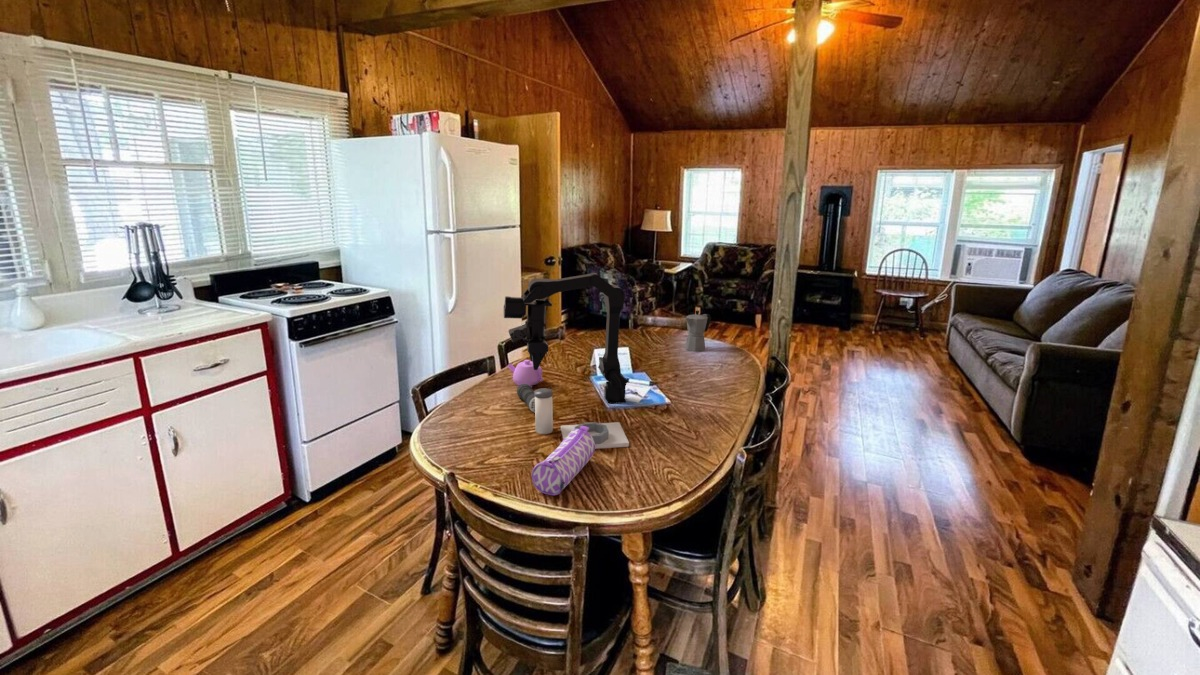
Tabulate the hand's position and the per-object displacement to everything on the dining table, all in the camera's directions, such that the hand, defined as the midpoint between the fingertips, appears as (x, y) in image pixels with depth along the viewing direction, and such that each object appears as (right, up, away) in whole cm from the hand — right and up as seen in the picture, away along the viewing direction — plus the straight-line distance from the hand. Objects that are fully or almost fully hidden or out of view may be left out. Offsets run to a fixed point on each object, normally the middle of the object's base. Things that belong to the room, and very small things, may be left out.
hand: (533, 365), depth 179 cm
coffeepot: (+66, +4, +71) cm, 97 cm away
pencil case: (+13, -26, -40) cm, 49 cm away
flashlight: (-2, -14, +5) cm, 15 cm away
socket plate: (+20, -20, -19) cm, 34 cm away
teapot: (-6, -8, +24) cm, 26 cm away
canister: (+5, -19, -14) cm, 24 cm away
